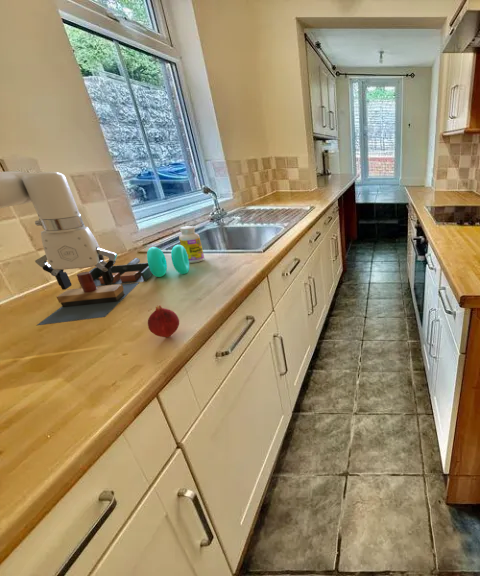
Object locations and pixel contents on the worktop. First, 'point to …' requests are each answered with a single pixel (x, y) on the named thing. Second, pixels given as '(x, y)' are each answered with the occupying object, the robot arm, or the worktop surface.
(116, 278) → the clod
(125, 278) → the clod
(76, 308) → the mat
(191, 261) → the supplement bottle
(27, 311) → the worktop surface
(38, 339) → the worktop surface
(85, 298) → the wooden board with knob
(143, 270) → the dustpan
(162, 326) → the onion
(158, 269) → the donuts
